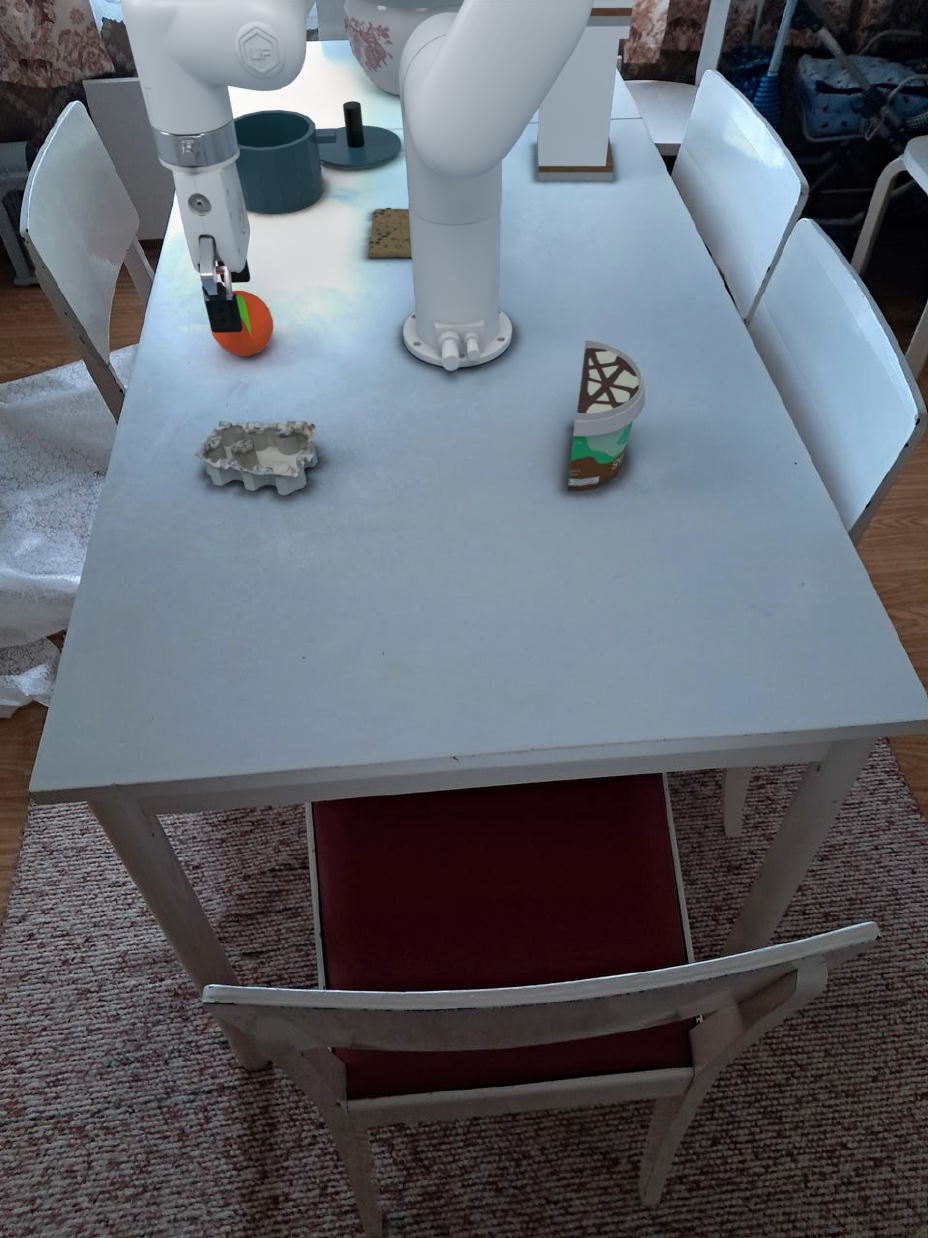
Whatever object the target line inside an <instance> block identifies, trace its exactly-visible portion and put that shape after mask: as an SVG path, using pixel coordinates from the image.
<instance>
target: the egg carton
mask: <svg viewBox="0 0 928 1238" xmlns="http://www.w3.org/2000/svg"><path fill="white" fill-rule="evenodd" d="M316 429H317V427H316V425H315V424H314V423H312V422H310V423H309V422H307V421H303V420H302V421H299V420H291V421H290V420H287V421H286V423H285V424H283V423H279V422H275V421H274V422H273V423H262V422H261V421H260V422H259V421H246V422H237V423H235V424H232V422H230V421H228V420H220V421H219V423H218V427H217V428H215V427H214V428H213V429H212V430H211V434H210V435H208V436H207V438H206V439H205V440H204V441H203V442H202V443H201V447H200V449H199V450H197V451H196V452H195V453H194V454H193V456H194V457H196V458H197V459H199V460H200V461H202V463H203V465H204V468H205V472H206V474H207V475H208V476H210V477H211V481H212V482H213V486H220V487H223V486H225V485H226V484H228V483H230V482H232V481H235V480H236V481H241V482H243V485H244V487H245V490H247V491H252V492H256V491H257V490H258V489H259V488H261V487H264V486H274V487H276V489H277V494H278V495H279V496H288V495H290V494H291V493H293V492H295V491H297V490H302V489H304V487H305V486H306V485H307V477H306V473H305V469H307V468H314V467H316V464H317V463H318V455H317V451H316V448H315V443H314V442H313V441H312V440H313V438H314V436H315V432H316Z"/></svg>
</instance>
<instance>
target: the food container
mask: <svg viewBox="0 0 928 1238" xmlns="http://www.w3.org/2000/svg"><path fill="white" fill-rule="evenodd" d="M582 360H583V361H582V369H581V377H580V385H579V392H578V393H579V394H578V401H577V402H578V404H577V412H575V417H574V423H573V424H574V425H573V434H572V446H571V454H570V464H569V473H568V484H567V491H569V492H570V491H572V492H582V491H589V490H595V489H597V488H599V487H602V486H604V485H607V484H608V483H610V482H611V481H612V480H613V479H615V478H616V477H617V476H618V474H619V472H620V470H621V467H622V464H623V460H624V456H625V452H626V449H627V445H628V442H629V437H630V434H631V429H632V425H633V421H635V420H636V419H637V418H638V417H639V415H640V414H641V413H642V411H643V409H644V407H645V403H646V391H645V390H646V389H645V380H644V375H643V374H642V371H641V369H640V366H639V365H638V363H637V362H636V360H635V359H633V358H632V357H631V355H629V354H628V353H626V352H625V351H623V350H621V349H620V348H618V347H616V346H613V345H611V344H608V343H605V342H601V341H598V340H597V341H596V340H591V339H590V340H589V339H585V341H584V349H583V359H582Z"/></svg>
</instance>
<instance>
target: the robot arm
mask: <svg viewBox="0 0 928 1238" xmlns="http://www.w3.org/2000/svg"><path fill="white" fill-rule="evenodd" d="M316 2H317V0H120V7H121V12H122V17H123V21H124V24H125V30H126V33H127V37H128V41H129V45H130V50H131V53H132V56H133V57H132V58H133V62H134V64H135V65H134V66H135V69H136V73H137V77H138V82H139V85H140V88H141V92H142V97H143V100H144V105H145V108H146V113H147V116H148V121H149V125H150V128H151V133H152V136H153V140H154V145H155V148H156V152H157V156H158V161H159V162H160V164H161V166H162V167H164V168H165V169H168V170H170V171H171V172H172V177H173V181H174V188H175V196H176V199H177V203H178V209H179V213H180V218H181V222H182V223H181V224H182V227H183V232H184V236H185V240H186V244H187V249H188V253H189V257H190V259H191V262H192V266H193V268H194V270H195V271H196V272H197V273H198V274H199V276H200V281H201V291H202V296H203V297H202V298H203V301H204V305H205V309H206V314H207V317H208V321H209V327H210V326H211V328H210V331H211V330H212V331H213V332H215V333H223V332H241V331H242V328H243V325H242V321H241V316H240V311H239V306H238V302H237V297H236V295H233V293H232V291H233V285H232V284H236V283H237V284H238V283H239V284H241V283H249V282H250V281H251V274H250V268H249V263H248V257H247V256H248V250H249V245H250V239H251V238H250V237H251V225H250V220H249V217H248V216H249V215H248V210H247V209H246V206H245V202H244V197H243V193H242V188H241V184H240V179H239V175H238V171H237V167H236V163H235V160H237V159H238V157H239V154H240V151H239V145H238V140H237V134H236V129H235V123H234V119H235V118H234V113H233V107H232V101H231V97H230V91H229V87H230V88H231V87H232V88H237V89H244V90H250V91H258V92H272V91H278V90H281V89H283V88H286V87H288V86H289V85H291V84H292V83H293V82H294V81H295V80H296V79H297V78H298V77H299V75H300V74H301V72H302V70H303V67H304V65H305V61H306V57H307V20H308V17H309V15H310V13H311V11H312V9H313V7H314V5H315V4H316ZM593 3H594V0H464V2H463V4H462V6H461V8H460V10H459V12H458V13H454V12H446V13H440V14H436V15H434V16H431V17H429V18H428V19H426V20H425V21H423V22H422V23H421V24H420V25H419V26H418V27H417V28H416V29H415V30H414V31H413V33H412V34H411V36H410V37H409V39H408V41H407V43H406V45H405V47H404V50H403V53H402V56H401V61H400V67H399V93H400V96H399V102H400V103H399V104H400V111H401V120H402V121H401V122H402V132H403V145H404V155H405V169H406V183H407V184H406V185H407V195H408V196H407V199H408V203H407V206H408V209H409V223H410V238H411V254H412V257H411V265H412V266H411V267H412V268H411V269H412V270H411V271H412V281H413V282H412V283H413V299H414V301H413V302H414V311H413V312H412V313H411V314H410V315H408V316H407V318H406V320H405V321H404V324H403V327H402V334H403V335H402V337H403V338H402V339H403V341H404V345H405V347H406V348H407V350H408V351H409V352H410V353H411V354H412V355H413V356H415V357H416V358H418V359H419V360H421V361H423V362H425V363H428V364H431V365H434V366H437V367H443V369H444V370H447V371H449V372H454V371H456V370H457V369H459V368H469V367H474V366H479V365H482V364H485V363H488V362H490V361H492V360H494V359H497V358H498V357H500V355H502V354H503V353H504V352H505V351H506V350H507V349H508V348H509V346H510V344H511V342H512V338H513V325H512V322H511V319H510V318H509V316H508V315H507V314H506V313H505V312H504V311H503V310H502V309H500V277H501V272H500V271H501V270H500V269H501V226H502V225H501V223H502V221H501V220H502V219H501V218H502V201H503V200H502V199H503V196H502V195H503V160H504V159H505V158H506V157H507V156H508V155H509V153H510V152H511V150H512V149H513V148H514V146H515V145H516V143H518V141H519V139H520V138H521V136H522V134H523V133H524V132H525V130H526V128H527V127H528V125H529V124H530V123H531V120H532V119H533V118H534V116H535V115H536V113H537V112H538V108H539V106H540V105H541V103H542V102H543V100H544V98H545V97H546V95H547V94H548V92H549V90H550V89H551V87H552V86H553V84H554V82H555V81H556V79H557V77H558V76H559V74H560V73H561V71H562V69H563V68H564V66H565V65H566V63H567V61H568V60H569V58H570V56H571V55H572V53H573V51H574V50H575V48H576V46H577V44H578V42H579V41H580V39H581V37H582V34H583V32H584V30H585V28H586V25H587V22H588V20H589V17H590V14H591V10H592V7H593ZM216 264H217V265H216ZM217 275H219V277H220V280H221V281H218V276H217Z"/></svg>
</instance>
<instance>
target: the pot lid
mask: <svg viewBox="0 0 928 1238" xmlns="http://www.w3.org/2000/svg"><path fill="white" fill-rule="evenodd" d="M342 109H343V110H342V111H343V118H344V120H343V121H344V126H341V127H336V135H337V136H336V143H326V144H318V148H319V155H320V162H321V164H324V165H327V166H329V167H330V166H331V167H336V168H340V169H341V168H342V169H360V168H361V169H362V168H368V167H374V166H378V165H381V164H383V163H386V162H388V161H390V160H392V159H393V158H395V157H397V155H398V154H399V153H400V151H401V150H402V142H401V138H400V136H399V135H398V134H396V133H395V132H394V131H392V130H389V129H387V128H384V127H381V126H375V125H364V124H363V123H364V122H363V113H362V105H361V103H360V102H359V101H357V100H355V101H354V100H351V101H346V102H344V103H343V104H342Z"/></svg>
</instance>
